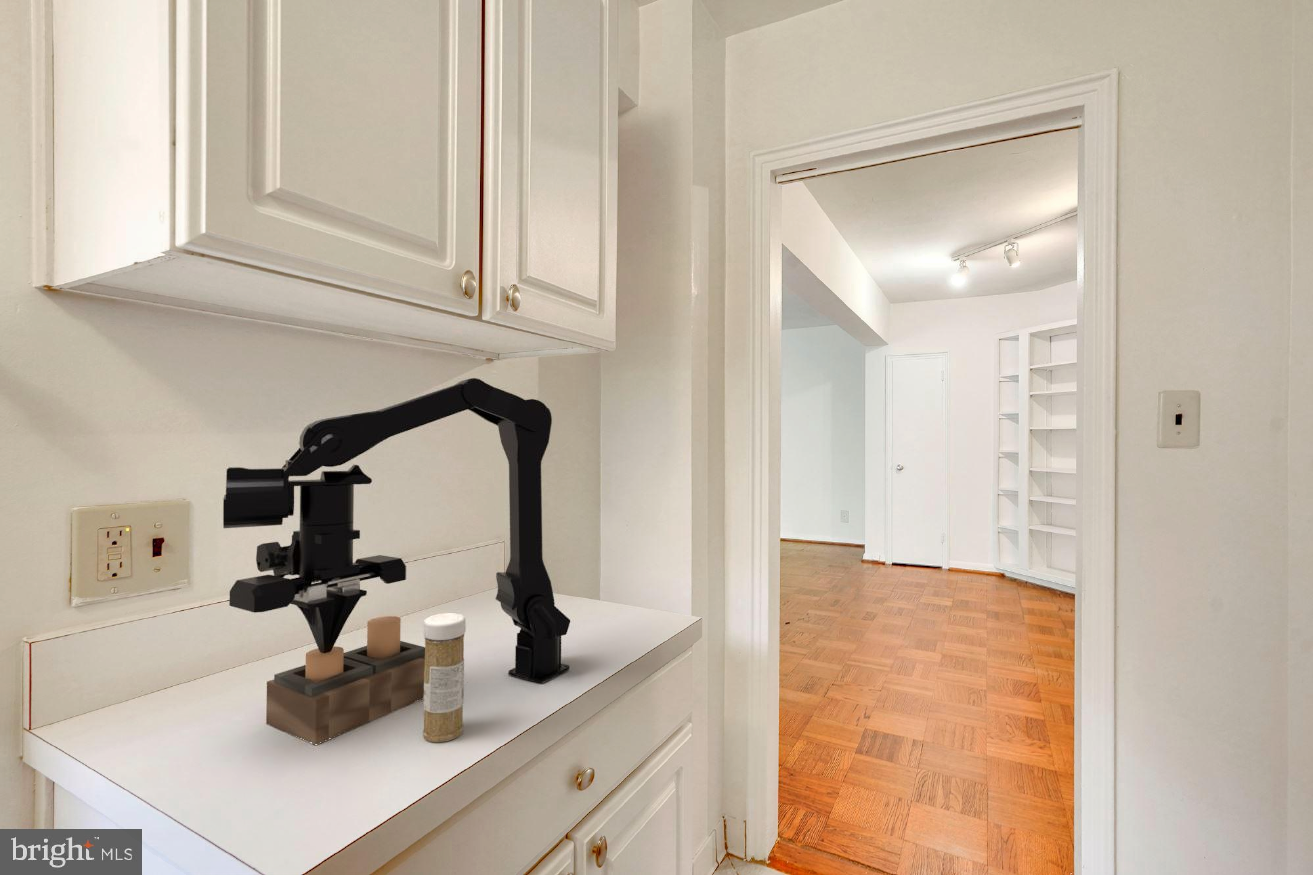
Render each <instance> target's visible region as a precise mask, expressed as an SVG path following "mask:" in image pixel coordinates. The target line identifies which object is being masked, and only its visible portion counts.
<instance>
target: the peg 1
mask: <svg viewBox="0 0 1313 875" xmlns="http://www.w3.org/2000/svg"><path fill="white" fill-rule="evenodd" d="M344 653H345V651H344V648H343V647H341V646H335V645H334V646H333V648H332V650H331V651H330V652H327V653H321V652H320V651H319V649H318V647H317V648H314V649H312V650H309V651H307V652H306V653H305V665H306V674H305V678H307V679H310V680H313V681H315V682H317V681H320V680H323V679H326V678H329V677H332V676H335V675H338V674H341V673H343V658H344Z"/></svg>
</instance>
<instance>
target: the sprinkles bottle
mask: <svg viewBox="0 0 1313 875" xmlns="http://www.w3.org/2000/svg"><path fill="white" fill-rule="evenodd" d="M466 624H467V623H466V617H465V616H464V615H463V614H460V613H454V612H445V613H444V612H443V613H438V614H437V613H436V614H434V615H431V616H428V617H426V618H425V619H424V620H423V637H424V647H425V670H424V698H423V711H424V712H423V728H422V736H423V738H424V740H426V741H428V742H434V743H435V742H437V743H438V742H439V743H441V742H448V741H451V740H454V739H455V738H457V737H459V736H460V735H462V734H463V732H464V724H463V711H464V710H463V706H464V700H465V698H464V696H465V695H464V694H465V693H464V690H465V687H464V686H465V680H464V678H465V673H464V672H465V659H464V658H465V657H464V653H465V652H464V651H465V648H464V646H465V645H464V644H465V643H464V642H465V641H464V640H465V634H466V628H467V627H466Z"/></svg>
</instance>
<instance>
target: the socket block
mask: <svg viewBox="0 0 1313 875" xmlns="http://www.w3.org/2000/svg"><path fill="white" fill-rule="evenodd" d="M424 670H425V646H422V645H418V644H415V643H410V642H407V641H403V640H400V653H399V654H396V655H393V656H390V657H387V658H384V659H381V660H376V659H372V658H369V657H367V645H365V646H361V647H358V648H355V649H352V650H348V651H346V652H345V651H344V658H343V673H341V674H338V675H335V676H332V677H329V678H326V679H323V680H320V681H317V682H315V681H313V680H310V679H307V678H305V674H306V664H304V665H301V666H298V667H294V668H291V669H288V670H285V671H281V672H279V673H276V674H274V675H273V676H274V677H273V678H274V679H271V680H268V681H266V709H265V710H266V716H265V717H266V719H265V720H266V722H265V724H266V725H268V726H270V727H273V728H274V729H277V730H279V731H281V732H284V733H286V732H287V733H286V734H289V735H290V734H291V735H290V736H293V735H294V736H293V737H295V736H297V737H299V738H298V739H300V738H302V739H304V740H306V741H308V742H307V743H309V742H312V743H313V744H318V745H320V744H321V743H320V742H322V743H324V742H323V741H325V740H327V741H329V740H330V739H329V738H332V739H334V738H335V737H334V736H336V737H338V735H339V734H341V735H343V734H345V733H347V731H348V732H350V731H352V730H354V729H357V728H359V727H361V726H364V725H366V724H368V723H371V722H372V721H375V720H377V719H379V718H380V719H381V717H384V716H387V715H388V714H391V713H393V711H394V712H396V711H398V710H400V709H402V708H405V707H407V706H409V704H410V705H412V704H414V703H416V702H415V701H417V700H419V701H421V700H423V699H424ZM422 698H423V699H422ZM420 699H421V700H420ZM413 702H414V703H413ZM417 702H418V701H417ZM411 703H412V704H411ZM344 732H345V733H344ZM339 736H340V735H339ZM297 737H296V738H297ZM333 737H334V738H333ZM302 739H301V740H302ZM328 739H329V740H328ZM304 740H303V741H304ZM306 741H305V742H306ZM325 742H326V741H325ZM319 743H320V744H319ZM313 744H312V745H313Z"/></svg>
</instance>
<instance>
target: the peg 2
mask: <svg viewBox="0 0 1313 875" xmlns="http://www.w3.org/2000/svg"><path fill="white" fill-rule="evenodd" d="M401 620H402V618H401V617H399V616H393V615H391V616H389V615H386V616H385V615H384V616H378V617H375V618H371V619H369V620H368V621H367V624H366V626H367V627H366V629H367V633H366V634H367V635H366V638H367V640H366V646H367V657H369V658H372V659H376V660H381V659H384V658H387V657H390V656H393V655H396V654H399V653H400V641H401V628H402V627H401V622H402V621H401Z"/></svg>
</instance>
